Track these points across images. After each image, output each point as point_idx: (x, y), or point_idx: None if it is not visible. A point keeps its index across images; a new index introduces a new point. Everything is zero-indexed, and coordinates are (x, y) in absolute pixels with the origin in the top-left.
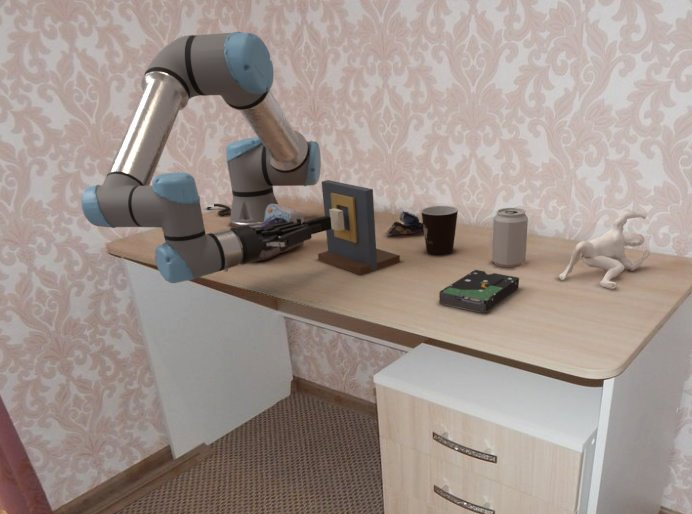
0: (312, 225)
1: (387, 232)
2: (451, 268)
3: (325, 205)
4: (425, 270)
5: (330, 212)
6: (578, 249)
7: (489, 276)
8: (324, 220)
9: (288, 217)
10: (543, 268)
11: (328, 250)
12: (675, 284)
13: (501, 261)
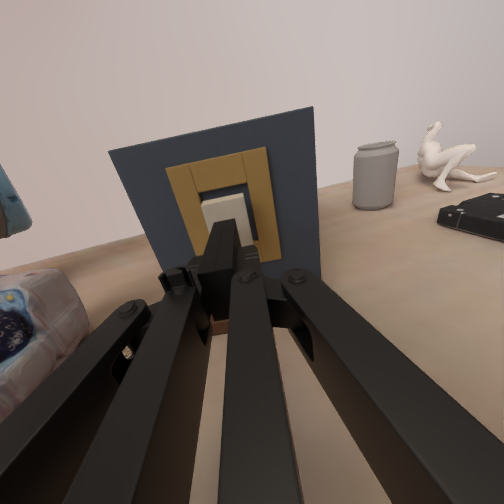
0: (249, 264)
1: None
2: (364, 230)
3: (145, 215)
4: (358, 246)
5: (208, 212)
6: (474, 150)
7: (480, 204)
8: (235, 233)
9: (21, 298)
10: (401, 195)
11: None
12: (475, 168)
13: (387, 201)
